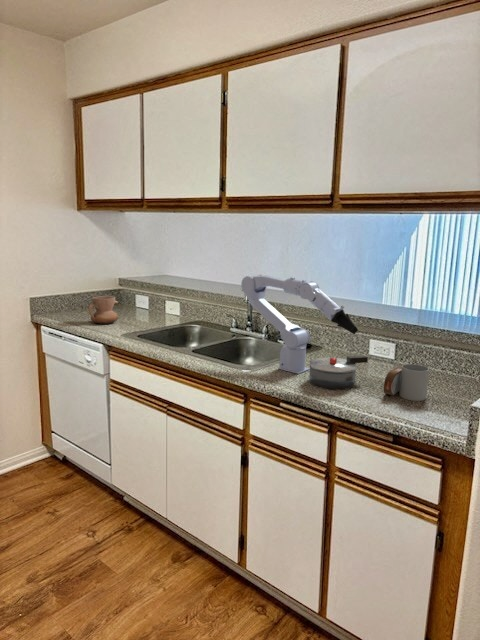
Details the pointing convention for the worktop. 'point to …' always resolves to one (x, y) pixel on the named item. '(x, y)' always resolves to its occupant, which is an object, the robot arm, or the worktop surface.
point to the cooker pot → (332, 379)
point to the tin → (393, 381)
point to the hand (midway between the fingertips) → (354, 330)
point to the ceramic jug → (103, 310)
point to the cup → (414, 382)
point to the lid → (337, 364)
